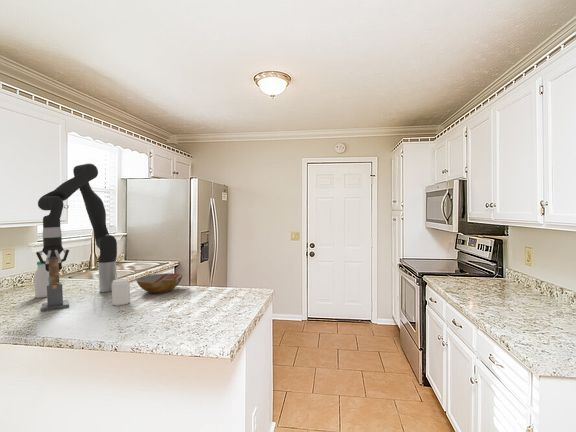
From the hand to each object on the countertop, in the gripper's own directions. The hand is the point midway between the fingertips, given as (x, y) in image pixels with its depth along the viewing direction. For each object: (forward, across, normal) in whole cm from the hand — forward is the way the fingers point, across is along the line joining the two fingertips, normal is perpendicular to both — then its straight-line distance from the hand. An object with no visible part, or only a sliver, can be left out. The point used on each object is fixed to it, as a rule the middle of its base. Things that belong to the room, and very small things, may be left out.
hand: (53, 270), depth 165 cm
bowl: (+18, -50, +2) cm, 53 cm away
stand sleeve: (+18, 0, 0) cm, 18 cm away
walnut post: (+10, 0, 0) cm, 10 cm away
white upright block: (+18, -27, +16) cm, 37 cm away
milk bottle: (+18, +6, -31) cm, 37 cm away
